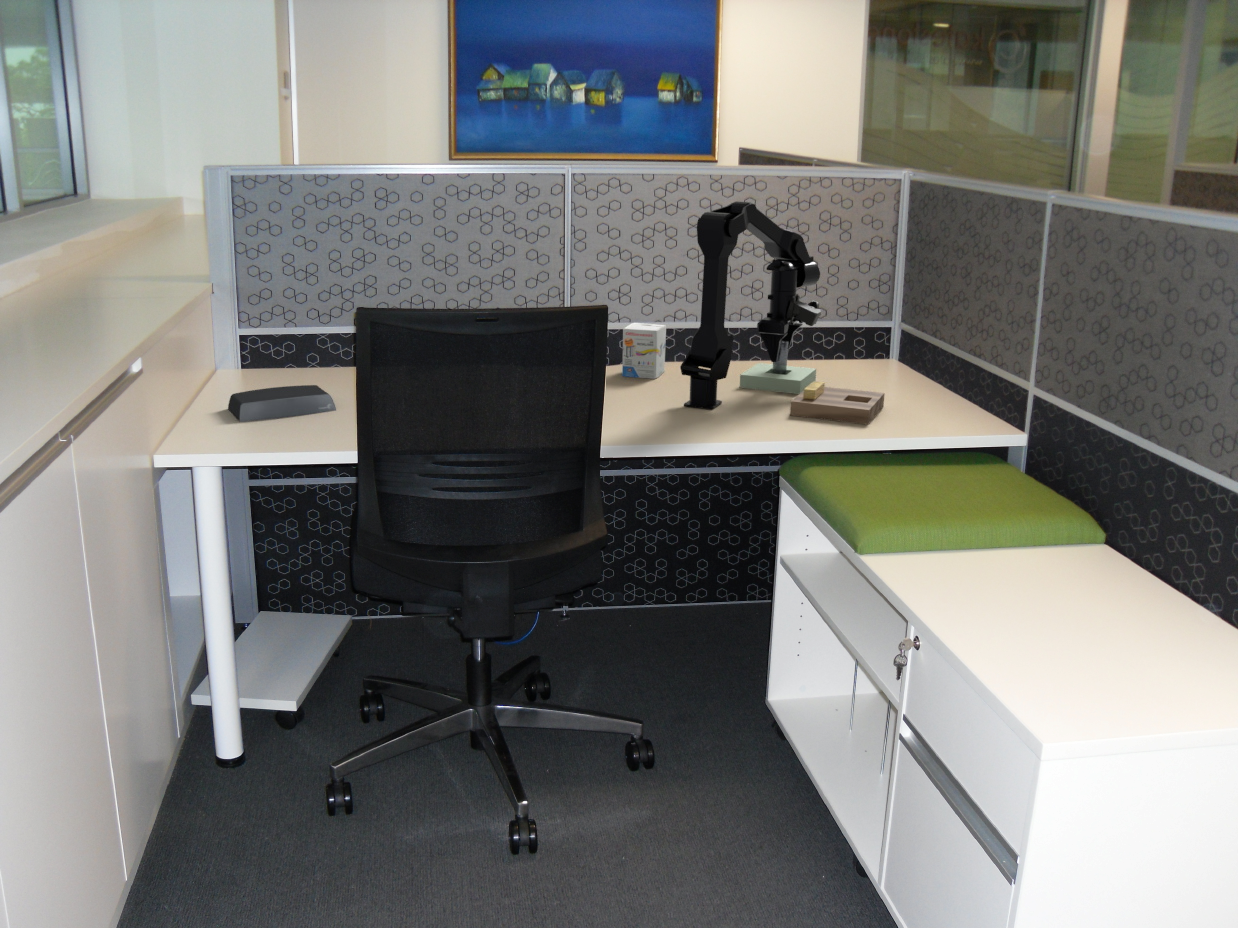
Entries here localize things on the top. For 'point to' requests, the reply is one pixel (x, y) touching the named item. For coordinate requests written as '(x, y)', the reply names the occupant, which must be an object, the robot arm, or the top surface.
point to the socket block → (840, 405)
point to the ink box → (644, 350)
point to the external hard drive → (280, 402)
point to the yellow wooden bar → (813, 390)
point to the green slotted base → (777, 378)
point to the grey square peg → (781, 359)
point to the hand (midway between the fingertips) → (779, 358)
